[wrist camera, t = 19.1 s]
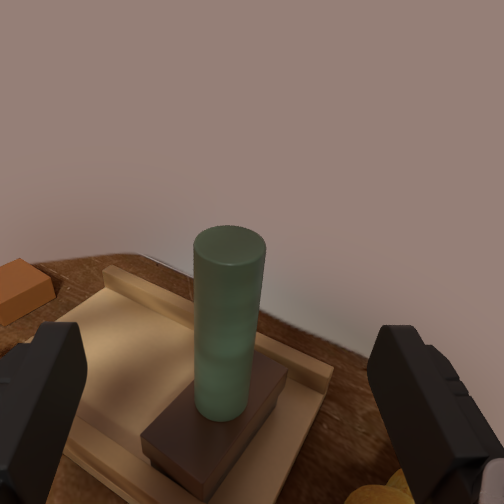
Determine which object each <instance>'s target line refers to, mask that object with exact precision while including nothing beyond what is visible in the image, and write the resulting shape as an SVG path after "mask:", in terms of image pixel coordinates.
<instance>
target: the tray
mask: <svg viewBox="0 0 504 504" xmlns="http://www.w3.org/2000/svg"><path fill="white" fill-rule="evenodd" d="M102 273H103V278H104V284H105V288H103V289H102V290H100V291H99V292H97V293H96V294H94V295H93V296H92V297H90V298H89V299H87V300H86V301H84V302H83V303H81V304H80V305H78V306H77V307H75V308H74V309H72V310H71V311H69V312H68V313H67V314H65V315H64V316H62V317H61V318H59V319H58V320H56V321H55V322H77V323H78V325H79V328H80V333H81V337H82V341H83V346H84V350H85V354H86V358H87V364H88V372H87V380H86V384H85V388H84V391H83V394H82V397H81V400H80V403H79V406H78V408H77V411H76V414H75V417H74V420H73V423H72V426H71V429H70V432H69V435H68V438H67V441H66V444H65V447H64V450H63V454H64V455H66V456H67V457H68V458H70V459H71V460H72V461H74V462H75V463H76V464H78V465H79V466H80V467H82V468H83V469H84V470H86V471H87V472H88V473H89V474H91V475H92V476H93V477H95V478H96V479H97V480H99V481H100V482H101V483H103V484H104V485H105V486H107V487H108V488H109V489H111V490H112V491H113V492H115V493H116V494H117V495H119V496H120V497H121V498H123V499H124V500H125V501H127V502H128V503H129V504H206V503H204V502H202V501H200V500H199V499H198V498H196V497H195V496H194V495H192V494H191V493H190V492H188V491H187V490H185V489H184V488H182V487H181V486H179V485H178V484H176V483H175V482H174V481H172V480H171V479H169V478H168V477H166V476H165V475H163V474H162V473H160V472H159V471H158V470H156V469H155V468H153V467H152V466H151V463H150V459H149V458H147V457H146V456H145V455H144V454H143V453H142V446H141V439H140V434H141V433H142V432H143V431H144V430H145V429H146V428H147V427H148V426H149V425H150V424H151V423H152V422H153V421H154V420H155V419H156V418H157V417H158V416H159V415H160V414H161V412H162V411H163V410H164V409H165V408H166V407H167V406H168V405H169V404H170V403H171V402H172V401H173V400H174V399H175V398H176V397H177V396H178V395H179V394H180V393H181V392H182V391H183V390H184V389H185V388H186V387H187V386H188V385H189V384H190V383H191V382H192V381H193V380H194V302H192V301H189V300H187V299H185V298H183V297H181V296H179V295H176V294H174V293H172V292H170V291H168V290H166V289H163V288H161V287H159V286H157V285H155V284H153V283H150V282H148V281H146V280H144V279H142V278H140V277H137V276H135V275H133V274H131V273H129V272H127V271H124V270H122V269H120V268H118V267H116V266H114V265H110V266H109V267H107V268H106V269H104V270H103V271H102ZM34 336H35V335H34ZM34 336H33V337H31V338H30V339H28V340H27V341H25V342H24V343H31V341H32V339H33V338H34ZM254 350H256V351H258V352H259V353H261V354H263V355H265V356H267V357H268V358H270V359H272V360H274V361H275V362H277V363H279V364H281V365H283V366H284V367H286V368H288V373H287V378H286V383H285V388H284V389H283V390H282V392H281V393H280V395H279V396H278V400H277V405H276V407H275V408H274V410H273V411H272V412H271V414H270V415H269V417H268V418H267V420H266V421H265V422H264V424H263V425H262V427H261V428H260V430H259V431H258V432H257V434H256V435H255V437H254V438H253V440H252V441H251V442H250V444H249V445H248V447H247V448H246V449H245V451H244V452H243V454H242V455H241V457H240V458H239V459H238V461H237V462H236V464H235V465H234V467H233V468H232V469H231V471H230V472H229V474H228V475H227V477H226V478H225V479H224V481H223V482H222V484H221V485H220V487H219V488H218V489H217V491H216V492H215V494H214V495H213V496H212V498H211V499H210V501H209V502H208V504H275V503H276V501H277V498H278V496H279V494H280V492H281V490H282V488H283V486H284V483H285V481H286V479H287V477H288V475H289V473H290V471H291V468H292V466H293V464H294V462H295V460H296V458H297V456H298V453H299V451H300V449H301V447H302V445H303V443H304V440H305V438H306V436H307V434H308V432H309V430H310V428H311V425H312V423H313V421H314V419H315V417H316V415H317V413H318V410H319V408H320V406H321V404H322V402H323V400H324V398H325V395H326V393H327V389H328V385H329V383H330V380H331V376H332V373H333V370H334V367H332V366H330V365H328V364H326V363H323V362H321V361H319V360H317V359H315V358H313V357H310V356H308V355H306V354H304V353H302V352H300V351H298V350H295V349H293V348H291V347H289V346H287V345H285V344H282V343H280V342H278V341H276V340H274V339H272V338H269V337H267V336H265V335H263V334H261V333H259V332H256V338H255V346H254ZM0 359H1V358H0Z"/></svg>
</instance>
